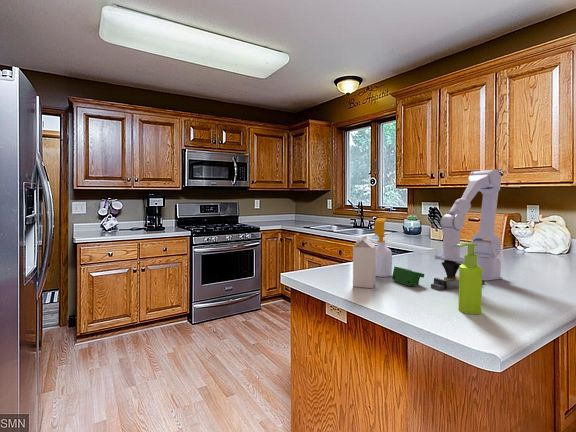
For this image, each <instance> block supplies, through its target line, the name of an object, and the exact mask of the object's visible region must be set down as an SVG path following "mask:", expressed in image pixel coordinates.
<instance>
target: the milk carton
mask: <svg viewBox="0 0 576 432" xmlns="http://www.w3.org/2000/svg"><path fill="white" fill-rule="evenodd" d="M367 236H368V235H367V234H365V235H364V236H362V237H361V238H362V239H361V238H358V239H357V240H355V243H356V244H355V245H354V246H353V247H352V287H353V288H354V287H357V288H363V289H365V288H366V289H373V288H374V287H375V286H376V276H375V266H376V246H377V245H375V244H374V243H373V242H372V241H371V240H370V239H369V238H368V237H367Z"/></svg>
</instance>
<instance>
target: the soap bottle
mask: <svg viewBox="0 0 576 432" xmlns="http://www.w3.org/2000/svg"><path fill="white" fill-rule="evenodd" d="M386 221H387V218H386V217H377V218H376V219H375V221H374V236H377V238H378V240H376V245H375V246H376V266H375V277H377V276H378V278H389V277H391V276H392V275H393V252H392V250H391V249H390V248H389V247H387V246H386V240H384V238H385V236H386V235H388V234H387V233H385V223H386ZM388 276H389V277H388Z"/></svg>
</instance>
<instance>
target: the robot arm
mask: <svg viewBox="0 0 576 432" xmlns="http://www.w3.org/2000/svg"><path fill="white" fill-rule="evenodd" d="M467 181H468V184H467V186H466V188H465V189H464V191H463V194H462V196H461V198H458V199H456V200H455V201H454V203H453V204H452V207H450V210H449V211H448V212H447V213H446V214H444V215H443V216H442V217H441V218H440V221H439V224H440V227H441V232H442V234H443V242H442V243H443V248H442V249H443V250H442V252H443V253H441V254H440V253H435V254H434V260H441V261H442V262H441V265H442V267H443V269H444V272H445V274H446V277H451V276H457V272H458V270H459V266H460V265H464V257H461V256H460V255H461V247H460V246H457V244H460V243H461V229H463V228H464V226H465V220H466V216H467V214H468V212H469V210H470V209H471V207H472V204H471V202H472V200H473V199H474V198H475V196H476V195H477V194H478V192H481V194H482V201H481V209H480V211H481V212H480V218H479V219H480V220H479V229H478V232H476V233H475V234H474V235H473V236H472V240H471V242H470V243H475V244H478V246H474V253H475V254H476V255H477V256H478V258H477V266H480V267H482V280H485V281H492V280H499V279H503V277H502V276H501V269H502V268H501V266H502V263H501V260H500V258H499V255H500V253H501V252H502V246H501V238H500V237H498V236H497V235H496V234H495V225H496V216H497V207H498V197H499V192H500V190H501V186H502V185H501V184H502V175H501V173H500V171H499V170H498V169H496V168H494V169H493V168H492V169H485V170H472V171H471V172H470V174H469V177H468V178H467Z"/></svg>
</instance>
